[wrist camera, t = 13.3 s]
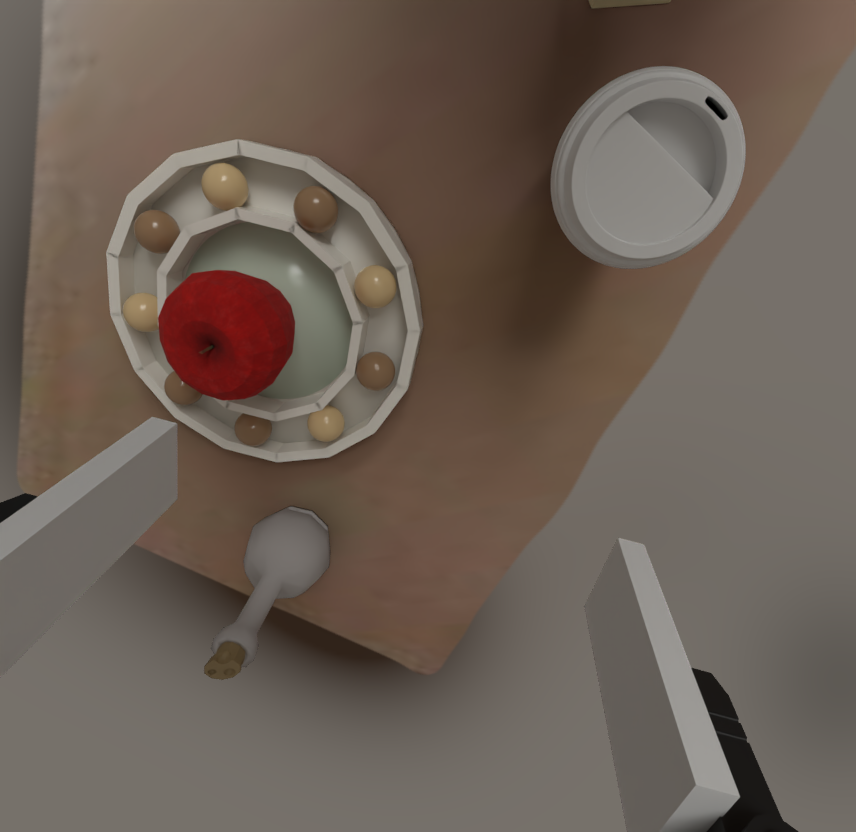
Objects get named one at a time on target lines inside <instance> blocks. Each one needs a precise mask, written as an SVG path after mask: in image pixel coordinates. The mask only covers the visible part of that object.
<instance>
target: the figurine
mask: <svg viewBox="0 0 856 832" xmlns="http://www.w3.org/2000/svg"><path fill="white" fill-rule="evenodd" d="M588 1H589V4H590V6H591V8H592V9H593V8H607V7H621V6H635V5H649V4H663V3H670V1H671V0H588Z"/></svg>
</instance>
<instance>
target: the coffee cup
mask: <svg viewBox="0 0 856 832" xmlns="http://www.w3.org/2000/svg"><path fill="white" fill-rule="evenodd" d="M745 154H746V148H745V136H744V131H743V126H742V123H741V120H740V117H739V115H738V112H737V110H736V108H735V107H734V105H733V103H732V102H731V100H730V99H729V97H728V96H727V95H726V94H725V93H724V92H723V91H722V89H721V88H719V87H718V86H717V85H716V84H715V83H713V82H712V81H710V80H709V79H707V78H706V77H704V76H702V75H700V74H698V73H696V72H693V71H691V70H687V69H684V68H679V67H671V66H657V67H648V68H643V69H639V70H636V71H633V72H630V73H627V74H625V75H622V76H620V77H618V78H616V79H614V80H613V81H611V82H609V83H608V84H606V85H605V86H603V87H602V88H601V89H599V90H598V91H597V92H595V93H594V94H593V95H592V96H591V97H590V98H589V99H588V100H587V101H586V102H585V103H584V104H583V105H582V106H581V107H580V108H579V110H578V111H577V112H576V113H575V115H574V116H573V118H572V119H571V121H570V122H569V124H568V125H567V127H566V129H565V131H564V133H563V135H562V137H561V139H560V141H559V144H558V146H557V149H556V152H555V156H554V160H553V165H552V171H551V199H552V204H553V209H554V212H555V215H556V218H557V221H558V223H559V225H560V227H561V229H562V231H563V232H564V234H565V235H566V237H567V238H568V240H569V241H570V242H571V243H572V244H573V245H574V246H575V247H576V248H577V249H578V250H579V251H580V252H582V253H583V254H584V255H586V256H587V257H589V258H591V259H592V260H594V261H596V262H599V263H601V264H604V265H607V266H611V267H615V268H623V269H639V268H647V267H652V266H656V265H659V264H662V263H665V262H668V261H670V260H673V259H675V258H677V257H679V256H681V255H683V254H685V253H686V252H688V251H689V250H691V249H692V248H694V247H695V246H697V245H698V244H699V243H700V242H702V241H703V240H704V239H705V238H706V237H707V236H708V235H709V234H710V233H711V232H712V231H713V230H714V229H715V228H716V227H717V225H718V224H719V223H720V222H721V220H722V219H723V218H724V216H725V215H726V213H727V211H728V210H729V208H730V206H731V205H732V203H733V201H734V199H735V196H736V194H737V192H738V189H739V186H740V183H741V180H742V176H743V171H744V165H745Z"/></svg>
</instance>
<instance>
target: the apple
mask: <svg viewBox="0 0 856 832" xmlns="http://www.w3.org/2000/svg"><path fill="white" fill-rule="evenodd" d="M158 324H159V337H160V342H161V345H162V348H163V350H164V353H165V356H166V359H167V362H168V363H169V364H170V366H171V367H172V368H173V370H174V371H175V372H176V374H177V375H178V377H179V378H180V379H181V381H183V382H184V383H186V384H187V385H189V386H190V387H192V388H193V389H195V390H196V391H198V392H199V393H201V394H203V395H207V396H210V397H213V398H216V399H219V400H223V401H225V400H240V399H246V398H249V397H253V396H256V395H257V394H259V393H260V392H262V391H263V390H264V389H266V388H267V387H269V386H270V385H271V384H273V383H274V381H275V379H276V378H277V376H278V375H279V373H280V372H281V370H282V369H283V367H284V366H285V364H286V363H287V361H288V360H289V358H290V356H291V355H292V353H293V344H294V334H295V319H294V315H293V311H292V307H291V305H290V303H289V302H288V301H287V299H286V298H285V297H284V295H283V294H282V293H281V291H279V290H278V289H277V288H275V287H274V286H273V285H271V284H270V283H269V282H268V281H266V280H263V279H259V278H256V277H253V276H250V275H247V274H244V273H240V272H237V271H230V270H213V271H205V272H197V273H192V274H191V275H190V276H188V277H187V278H186V279H185V280H184V281H183V282H182V283H181V284H180V285H179V286H178V287H177V288H176V289H175V290H174V291H173V292H172V293H171V294H170V295H169V296H168V297H167V298H166V300H165V302H164V304H163V307H162V309H161V312H160V314H159V317H158Z"/></svg>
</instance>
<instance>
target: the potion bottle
mask: <svg viewBox="0 0 856 832" xmlns="http://www.w3.org/2000/svg"><path fill="white" fill-rule="evenodd" d="M329 562H330V543H329V532H328V526H327V525H326V524H325V523H324V522H323V521H322V520H321V519H320V518H319V517H318V516H317V515H316V514H315V513H314V512H313V511H312V510H307V509H303V508H299V507H294V506H290V507H287V508H285V509H283V510H281V511H278V512H276V513H274V514H272V515H270V516H267V517H265V518H264V519H263V520H261V521H260V522H258V523H257V524H256V525H254V526H253V529H252V532H251V536H250V539H249V542H248V546H247V550H246V554H245V557H244V568H245V573H246V575H247V576H248V578H249V580H250V581H251V583H252V585H253V586H254V588H255V590H254V591H253V593H252V595H251V596H250V598H249V600H248V602H247V603H246V605H245V607H244V608H243V610H242V611H241V613H240V615H239V617H238V618H237V620H236V621H235V623H234V624H231V625H228V626H226V627H223V629H222V630H221V631H220V632H219V633H218V635H217V636H216V637H215V638H214V639H213V643H212V647H211V650H212V651H213V653H214V654H215V655H214V656H213V657H211V659H210V660H209V661H208V663H207V664H206V665H205V668H204V669H205V674H206V675H208V676H209V677H211V678H214V679H222V680H223V679H228V678H231V677H234V676H235V675H237V674H238V673H239V672H240V671H241V667H247V665H249V664H250V663H251V662H252V661H253V660H254V658H255V655H256V652H257V649H258V646H259V644H258V639H257V633H258V631H259V629H260V627H261V625H262V623H263V621H264V620H265V618H266V616H267V614H268V612H269V610H270V608H271V606H272V605H273V603H274V601H275V599H276V598H294V597H296V596H298V595H300V594H302V593H304V592H305V591H306V590H307V589H308V588H309V587H310V586H312V585H313V584H314V583H315V582H316V581H317V580H318V579H319V578H320V577H321V575H322V574H323V573H324V572H325V571H326V570H327V569H328V568H329Z"/></svg>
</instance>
